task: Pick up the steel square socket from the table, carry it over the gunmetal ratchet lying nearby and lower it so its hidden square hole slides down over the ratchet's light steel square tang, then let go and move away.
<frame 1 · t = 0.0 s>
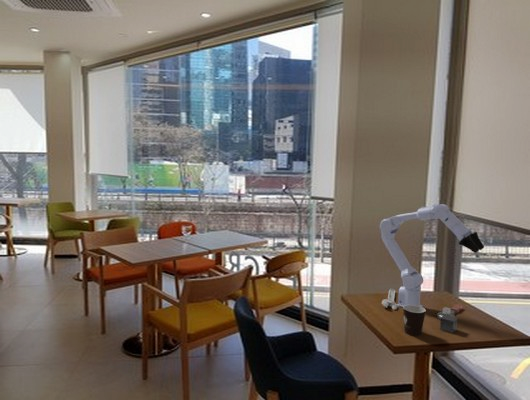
hand: (479, 250, 176), 32 cm above the table, tool tilted 50°, fingers open, 7 cm apart
ratchet: (446, 318, 184), on the table
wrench: (397, 301, 206), on the table, touching arm
socket: (448, 329, 172), on the table
coffee mug: (412, 331, 170), on the table
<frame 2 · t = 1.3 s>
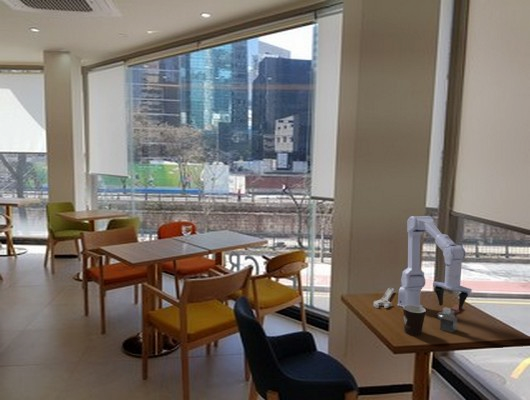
hand: (450, 307, 171), 10 cm above the table, tool pointing down, fingers open, 7 cm apart
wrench: (393, 298, 206), point 1 cm above the table
everything else where it was.
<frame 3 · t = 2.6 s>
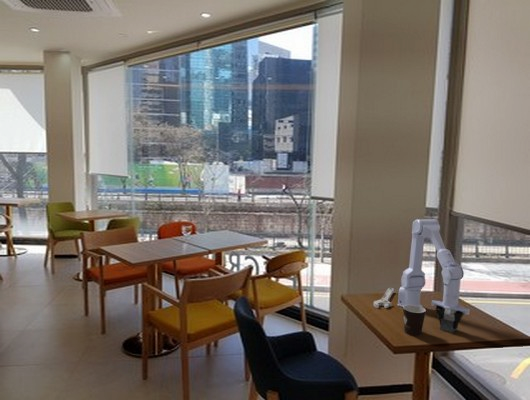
hand: (448, 326, 172), 1 cm above the table, tool pointing down, fingers closed on socket, 5 cm apart
socket: (448, 329, 172), on the table, touching gripper
everything else where it was.
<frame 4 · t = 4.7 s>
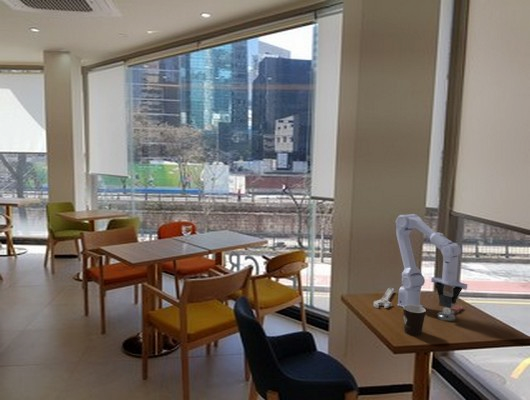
hand: (447, 301, 182), 8 cm above the table, tool pointing down, fingers closed on socket, 5 cm apart
socket: (447, 305, 182), point 7 cm above the table, touching gripper
everything else where it was.
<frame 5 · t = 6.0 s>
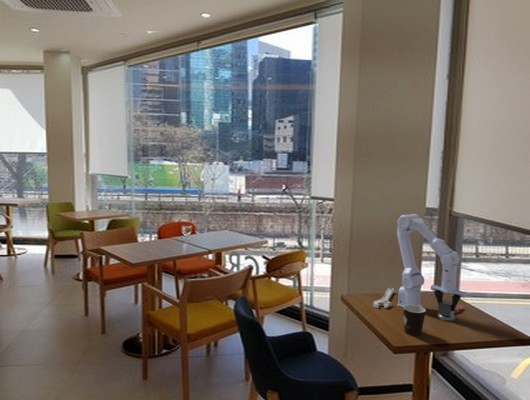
hand: (446, 309, 184), 4 cm above the table, tool pointing down, fingers closed on socket, 5 cm apart
socket: (446, 313, 184), point 2 cm above the table, touching gripper
everything else where it was.
when the fingers open (4 cm above the table, at t = 7.0 s): socket stays where it is, resting on ratchet.
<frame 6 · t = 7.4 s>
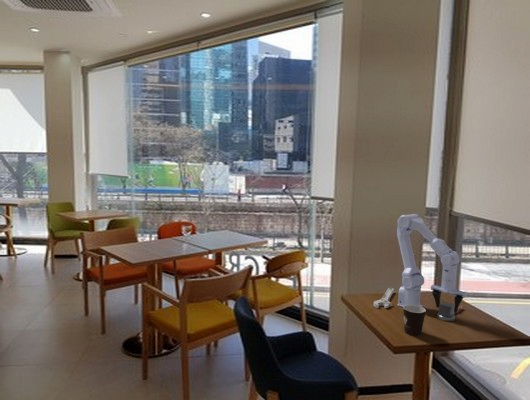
hand: (446, 309, 184), 4 cm above the table, tool pointing down, fingers open, 7 cm apart
ratchet: (446, 318, 184), on the table, touching socket
socket: (446, 315, 184), point 2 cm above the table, touching ratchet
everything else where it was.
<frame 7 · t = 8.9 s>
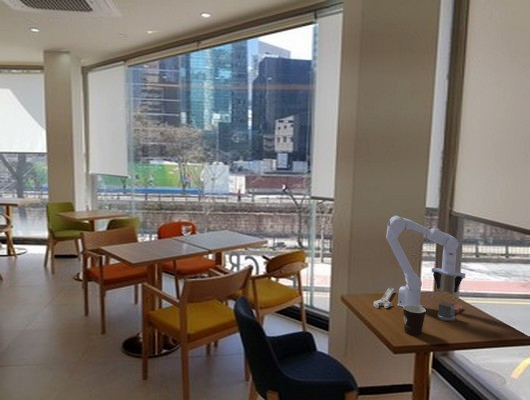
hand: (446, 290, 194), 9 cm above the table, tool pointing down, fingers open, 7 cm apart
nothing on the table moved.
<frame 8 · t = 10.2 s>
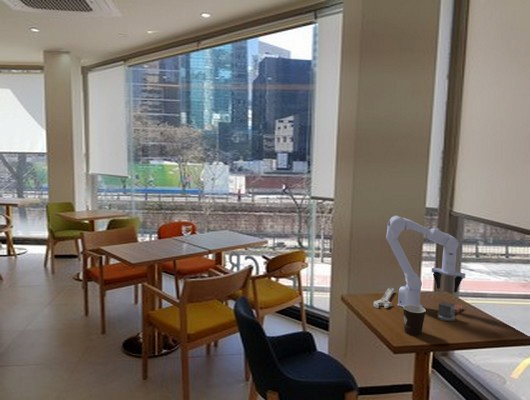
hand: (446, 290, 194), 9 cm above the table, tool pointing down, fingers open, 7 cm apart
nothing on the table moved.
at the end: socket 0.2 cm from the ratchet (horizontally); socket point 1.5 cm above the table; socket tilted 0° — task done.
